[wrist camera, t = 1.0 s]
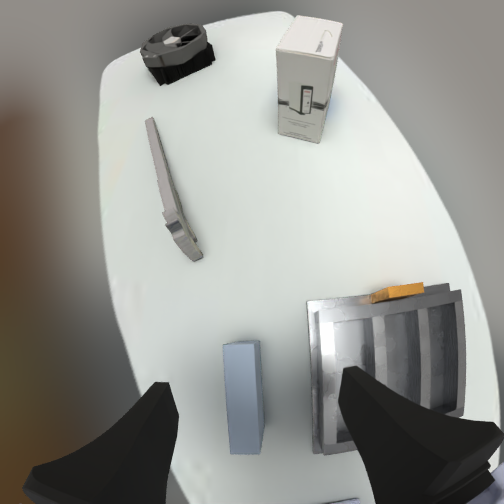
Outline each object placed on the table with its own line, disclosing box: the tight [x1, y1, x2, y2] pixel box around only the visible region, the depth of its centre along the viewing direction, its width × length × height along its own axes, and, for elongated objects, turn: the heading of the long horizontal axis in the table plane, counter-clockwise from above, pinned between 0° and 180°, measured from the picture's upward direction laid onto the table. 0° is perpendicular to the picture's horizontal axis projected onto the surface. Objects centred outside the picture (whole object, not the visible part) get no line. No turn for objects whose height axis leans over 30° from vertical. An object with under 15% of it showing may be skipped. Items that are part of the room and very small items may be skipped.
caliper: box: [145, 117, 203, 261], centre depth 25 cm, size 21×1×6 cm, turn 25°
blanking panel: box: [223, 341, 264, 454], centre depth 19 cm, size 8×2×6 cm, turn 3°
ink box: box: [276, 16, 343, 143], centre depth 23 cm, size 9×5×12 cm, turn 162°
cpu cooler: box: [140, 23, 215, 86], centre depth 32 cm, size 10×6×10 cm
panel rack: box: [307, 282, 466, 455], centre depth 18 cm, size 14×15×5 cm
